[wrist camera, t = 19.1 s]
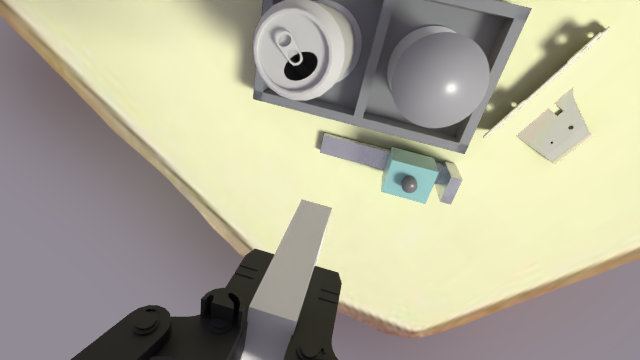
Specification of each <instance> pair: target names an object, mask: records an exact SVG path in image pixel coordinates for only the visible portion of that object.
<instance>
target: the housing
mask: <svg viewBox="0 0 640 360" xmlns="http://www.w3.org/2000/svg"><path fill="white" fill-rule="evenodd" d="M282 1H284V0H263V6H262V16H263V15H264V14H265V13H266V12H267V11H268V10H269V9H270V8H271V7H272V6H273V5H275V4H277V3H279V2H282ZM310 1H314V2H317V3H321V4H325V5H328V6H331V7H334V8H337V9H338V10H339V11H340V12H342V13H343V14H344V15H345V16H346V17H347V19H348V20H349V22H350V23H351V25H352V27H353V30H354V34H355V37H356V51H355V54H354V57H353V60H352V63H351V64H350V65H349V67H348V68H347V70H346V71H345V72H344V74H343V75H342V76H341V77H340V78H339V79H338V81H337V82H336V83H335V84H334V85H333V86H332V88H330V89H329V90H328V91H326V92H325V93H324V94H322V95H321V96H319V97H316V98H313V99H310V100H291V99H288V98H285V97H282V96H280V95H279V94H277V93H276V92H275V91H273V90H272V89H270V88H269V87H268V86H267V84H266V83H265V82H264V80H263V79H262V78H261V76H260V75H259V72H258V70H257V67H256V74H255V84H254V94H253V99H255V100H259V101H263V102H267V103H271V104H275V105H278V106H282V107H286V108H290V109H294V110H298V111H301V112H305V113H309V114H313V115H317V116H321V117H325V118H328V119H332V120H336V121H340V122H344V123H348V124H351V125H355V126H359V127H363V128H367V129H371V130H374V131H378V132H382V133H386V134H390V135H394V136H397V137H401V138H405V139H409V140H413V141H417V142H420V143H424V144H428V145H432V146H436V147H440V148H443V149H447V150H451V151H455V152H459V153H463V154H465V152H466V150H467V148H468V145H469V143H470V141H471V139H472V137H473V135H474V132H475V130H476V128H477V126H478V124H479V122H480V119H481V117H482V115H483V113H484V111H485V109H486V106H487V104H488V102H489V100H490V98H491V96H492V93H493V91H494V89H495V87H496V85H497V83H498V80H499V78H500V76H501V74H502V72H503V70H504V67H505V65H506V63H507V61H508V59H509V56H510V54H511V52H512V50H513V48H514V46H515V43H516V41H517V39H518V37H519V35H520V33H521V30H522V28H523V26H524V24H525V22H526V20H527V17H528V15H529V13H530V11H531V9H532V8H528V7H524V6H519V5H515V4H510V3H506V2H501V1H497V0H310ZM262 16H261V17H262ZM438 32H452V33H458V34H461V35H464V36H466V37H468V38H470V39H471V40H473V41H474V42H476V43H477V44H478V45H479V46H480V48H481V49H482V50H483V52H484V54H485V56H486V58H487V61H488V64H489V71H490V77H489V84H488V88H487V91H486V94H485V96H484V98H483V100H482V101H481V103H480V104H479V106H478V107H477V108H476V109H475V110H474V111H473V112H472V113H471V114H470V115H469V116H468V117H466V118H465V119H463V120H462V121H460V122H458V123H456V124H453V125H450V126H447V127H442V128H427V127H422V126H419V125H416V124H414V123H412V122H411V121H409V120H407V119H406V118H405V117H404V116H403V115H402V114H401V113H400V111H399V110H398V108H397V107H396V105H395V102H394V99H393V96H392V87H391V81H392V74H393V70H394V68H395V65H396V63H397V61H398V59H399V58H400V56H401V55H402V53H403V52H404V51H405V50H406V49H407V48H408V47H409V46H410V45H411V44H412V43H414V42H415V41H417V40H418V39H420V38H422V37H424V36H427V35H429V34H433V33H438Z"/></svg>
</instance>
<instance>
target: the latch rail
mask: <svg viewBox="0 0 640 360" xmlns="http://www.w3.org/2000/svg"><path fill="white" fill-rule="evenodd" d="M390 151H391V150H389V149H385V148H381V147H377V146H373V145H370V144H366V143H362V142H358V141H355V140H351V139H347V138H343V137H339V136H336V135H332V134H328V133H325V134H324V136H323V141H322V145H321V150H320V153H324V154H327V155H331V156H335V157H338V158H342V159H346V160H350V161H353V162H357V163H361V164H364V165H368V166H372V167H376V168H379V169H383V170H384V169H385V166H386V163H387V160H388V157H389V154H390ZM436 165H437V168H438V171H439V173H438V175H437V178H436V180H435V182H434V183H435V186H436V189H437V193H438V196H439V200H440V202H444V203H447V204H451V203H452V201H453V199H454V196H455V194H456V192H457V190H458V188H459V186H460V184H461V182H462V178H461V176H460V173H459V171H458V169H457V167H456V165H455V164H454V163H450V162H446V161H445V162H444V164H442V163H438V162H436Z"/></svg>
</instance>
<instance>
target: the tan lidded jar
mask: <svg viewBox="0 0 640 360" xmlns="http://www.w3.org/2000/svg"><path fill="white" fill-rule="evenodd" d="M489 77H490V71H489V64H488V61H487V58H486V56H485V54H484V52H483V50H482V49H481V48H480V46H479V45H478V44H477V43H476V42H474V41H473V40H471V39H470V38H468V37H466V36H464V35H461V34H458V33H452V32H438V33H433V34H429V35H427V36H424V37H422V38H420V39H418V40H417V41H415V42H414V43H412V44H411V45H410V46H409V47H408V48H407V49H406V50H405V51H404V52H403V53H402V55H401V56H400V58H399V59H398V61H397V63H396V65H395V68H394V70H393V74H392V81H391V87H392V96H393V99H394V102H395V105H396V107H397V108H398V110H399V111H400V113H401V114H402V115H403V116H404V117H405V118H406V119H407V120H409V121H411V122H412V123H414V124H416V125H419V126H422V127H427V128H442V127H447V126H450V125H453V124H456V123H458V122H460V121H462V120H463V119H465V118H466V117H468V116H469V115H470V114H471V113H472V112H473V111H474V110H475V109H476V108H477V107H478V106H479V104H480V103H481V101H482V100H483V98H484V96H485V94H486V91H487V88H488V84H489Z"/></svg>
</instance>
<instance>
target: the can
mask: <svg viewBox="0 0 640 360" xmlns="http://www.w3.org/2000/svg"><path fill="white" fill-rule="evenodd" d="M252 48H253V56H254V62H255V65H256V67H257V70H258V72H259V75H260V76H261V78H262V79H263V80H264V82H265V83H266V84H267V86H268V87H269V88H270V89H272V90H273V91H275V92H276V93H277V94H279V95H280V96H282V97H285V98H288V99H291V100H310V99H313V98H316V97H319V96H321V95H322V94H324V93H325V92H326V91H328V90H329V89H330V88H332V86H333V85H334V84H335V83H336V82H337V81H338V79H339V78H340V77H341V76H342V75H343V74H344V72H345V71H346V70H347V68H348V67H349V65H350V64H351V63H352V60H353V57H354V54H355V51H356V37H355V34H354V30H353V27H352V25H351V23H350V22H349V20H348V19H347V17H346V16H345V15H344V14H343V13H342V12H340V11H339V10H338V9H337V8H334V7H331V6H328V5H325V4H321V3H317V2H314V1H310V0H284V1H282V2H279V3H277V4H275V5H273V6H272V7H271V8H270V9H269V10H268V11H267V12H266V13H265V14H264V15H263V16H262V17H261V19H260V21H259V23H258V25H257V27H256V29H255V32H254V39H253V45H252Z"/></svg>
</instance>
